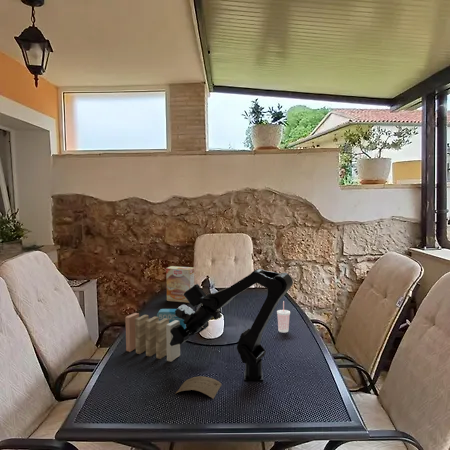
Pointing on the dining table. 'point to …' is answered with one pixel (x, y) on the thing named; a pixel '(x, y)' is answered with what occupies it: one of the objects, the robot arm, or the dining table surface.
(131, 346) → the end domino
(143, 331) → the domino
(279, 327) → the beverage cup
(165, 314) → the data package
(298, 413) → the dining table surface
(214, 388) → the curved brown sheet
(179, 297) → the coffeecake box
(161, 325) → the domino
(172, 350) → the domino
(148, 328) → the domino
